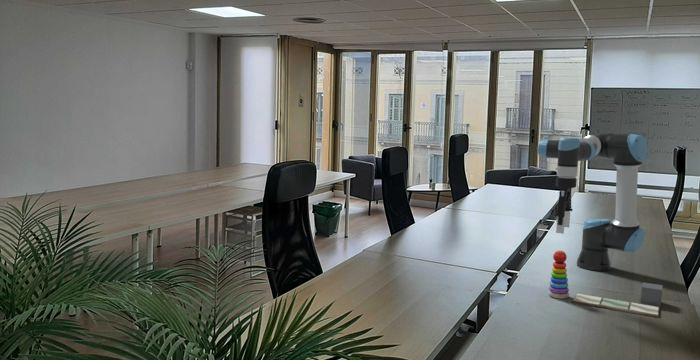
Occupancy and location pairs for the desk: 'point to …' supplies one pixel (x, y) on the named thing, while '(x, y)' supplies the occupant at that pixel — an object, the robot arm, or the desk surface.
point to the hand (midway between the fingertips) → (562, 230)
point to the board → (616, 305)
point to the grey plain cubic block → (651, 294)
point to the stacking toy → (559, 277)
